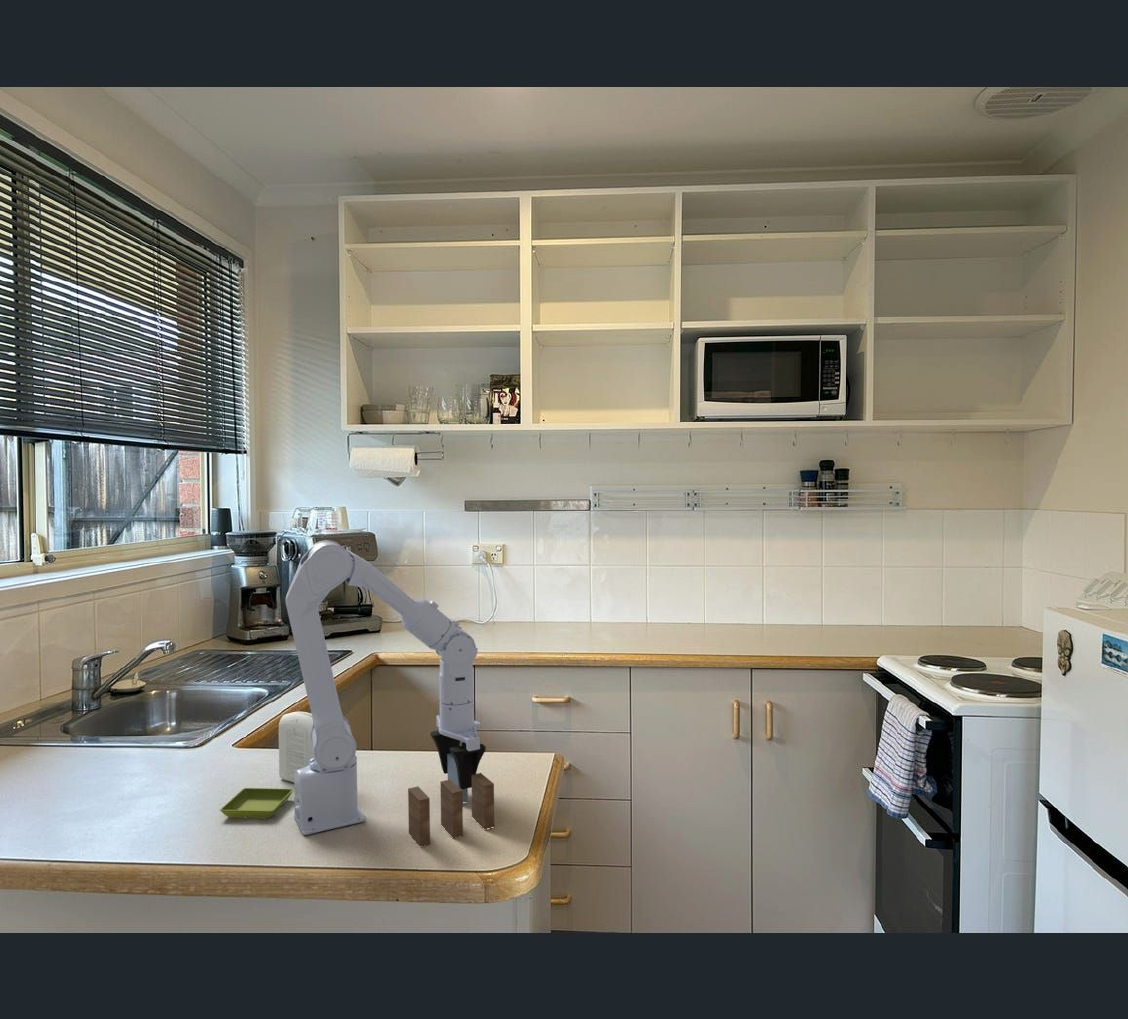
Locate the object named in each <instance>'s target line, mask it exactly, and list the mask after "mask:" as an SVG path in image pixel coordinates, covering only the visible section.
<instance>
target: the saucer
mask: <svg viewBox="0 0 1128 1019" xmlns="http://www.w3.org/2000/svg"><path fill="white" fill-rule="evenodd" d="M293 792H294V788H271V787H270V788H269V787H268V788H267V787H266V788H265V787H259V788H258V787H244V788H242V789H241V790H240V791H239V792H238V793H237V794H236V795H235V796H233V797H232V799H231V800H229V801H228V802H227V803H226V804H224V805H223V806H222V807H221V808H220V809H219V811H220V812H221V813H222V814H223V815H224V816H226V817H228V818H229V817H234V818H233V819H271V817H272V816H273V815H274V814H275V813H277V811H278V810H279V809H280V808H281V807H282V806H283V805H284V804H285V803H284V802H285V801H286V802H287V800H289V798H290V796H291V795H292V793H293ZM235 817H236V818H235ZM245 817H246V818H245Z"/></svg>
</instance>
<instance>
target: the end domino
mask: <svg viewBox="0 0 1128 1019" xmlns="http://www.w3.org/2000/svg"><path fill="white" fill-rule="evenodd" d="M447 764H448V773H447V780H451V781H452V782H453V783H454V784H456V785H457V786H458V787H459V788H460V786H459V781H458V774H457V768H456V764H455V760H454V758H453V755H452V753H451V754H447ZM460 789H461V788H460ZM461 790H462V802H468V803H469V800H468V799H469V795H468V794H469V792H468V791H469V788H467V789H461Z"/></svg>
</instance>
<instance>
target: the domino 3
mask: <svg viewBox="0 0 1128 1019" xmlns="http://www.w3.org/2000/svg"><path fill="white" fill-rule="evenodd" d="M472 817H473V818H474V819H475V820H476V821H477V822H478V823H479V824H480V825H481V826H482V827H481V826H480V827H481V828H482V829H483V828H484V829H487V828H491V827H494V828H495V783H493V781H491V780H490V779H489V778H488V777H486V776H485V775H484V774H483V773H481V772H479V773H476V774H473V775H472V787H471V818H472ZM484 829H483V830H484Z"/></svg>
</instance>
